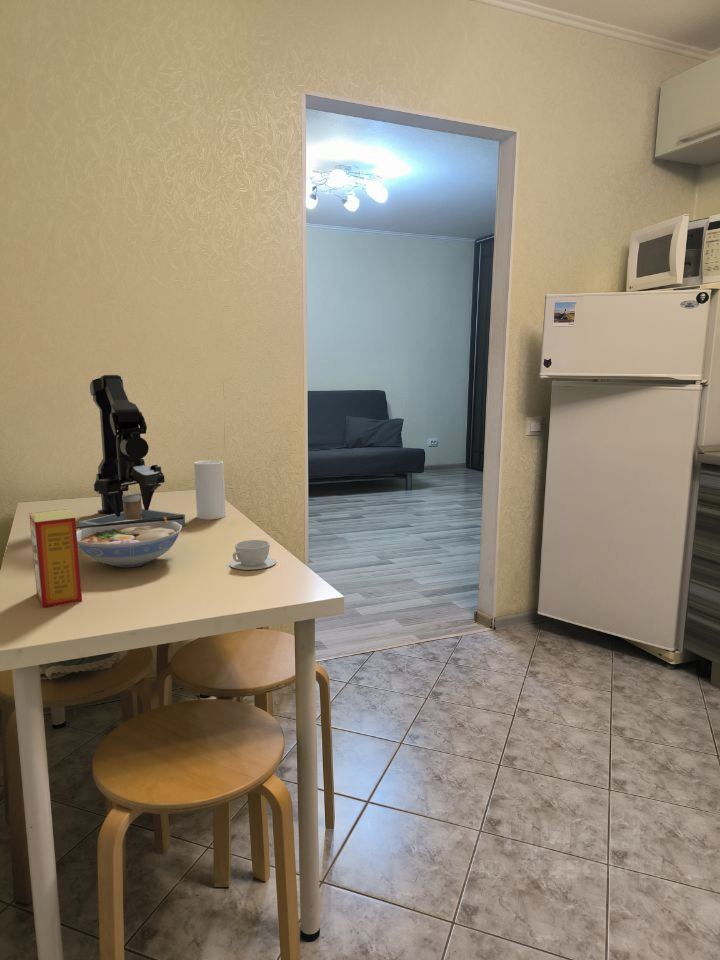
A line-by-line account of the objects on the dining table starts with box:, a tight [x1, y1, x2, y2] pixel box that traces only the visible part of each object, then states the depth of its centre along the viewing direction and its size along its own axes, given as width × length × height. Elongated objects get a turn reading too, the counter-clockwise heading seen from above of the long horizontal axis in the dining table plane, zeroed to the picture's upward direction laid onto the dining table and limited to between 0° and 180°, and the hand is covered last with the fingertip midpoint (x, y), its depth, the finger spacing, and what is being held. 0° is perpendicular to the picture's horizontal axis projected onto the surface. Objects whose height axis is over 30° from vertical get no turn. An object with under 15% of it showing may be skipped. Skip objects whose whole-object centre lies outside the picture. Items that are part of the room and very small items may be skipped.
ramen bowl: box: [76, 515, 184, 569], centre depth 144 cm, size 25×23×8 cm
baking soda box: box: [28, 509, 83, 609], centre depth 121 cm, size 10×6×16 cm
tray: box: [78, 507, 186, 530], centre depth 176 cm, size 18×20×3 cm
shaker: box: [122, 492, 143, 520], centre depth 176 cm, size 5×5×8 cm
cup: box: [193, 459, 227, 520], centre depth 190 cm, size 8×8×16 cm
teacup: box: [229, 539, 277, 571], centre depth 142 cm, size 10×10×5 cm
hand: (132, 513), depth 176 cm, fingers open, 9 cm apart
